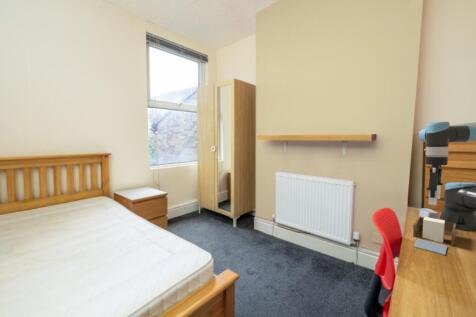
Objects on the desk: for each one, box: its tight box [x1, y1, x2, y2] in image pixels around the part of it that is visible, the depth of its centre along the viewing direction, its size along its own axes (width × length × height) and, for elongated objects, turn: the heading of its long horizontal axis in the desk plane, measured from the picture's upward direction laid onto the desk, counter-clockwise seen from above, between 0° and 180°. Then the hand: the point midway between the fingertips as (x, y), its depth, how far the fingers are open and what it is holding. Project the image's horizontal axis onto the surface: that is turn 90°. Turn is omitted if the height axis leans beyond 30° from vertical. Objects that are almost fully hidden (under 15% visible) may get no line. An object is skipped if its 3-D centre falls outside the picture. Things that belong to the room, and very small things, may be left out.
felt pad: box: [412, 238, 448, 256], centre depth 92 cm, size 10×10×1 cm
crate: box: [412, 216, 457, 247], centre depth 102 cm, size 15×14×6 cm
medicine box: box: [418, 207, 439, 219], centre depth 113 cm, size 8×4×9 cm, turn 168°
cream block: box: [422, 217, 445, 244], centre depth 99 cm, size 5×7×9 cm
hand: (434, 201), depth 98 cm, fingers open, 13 cm apart
